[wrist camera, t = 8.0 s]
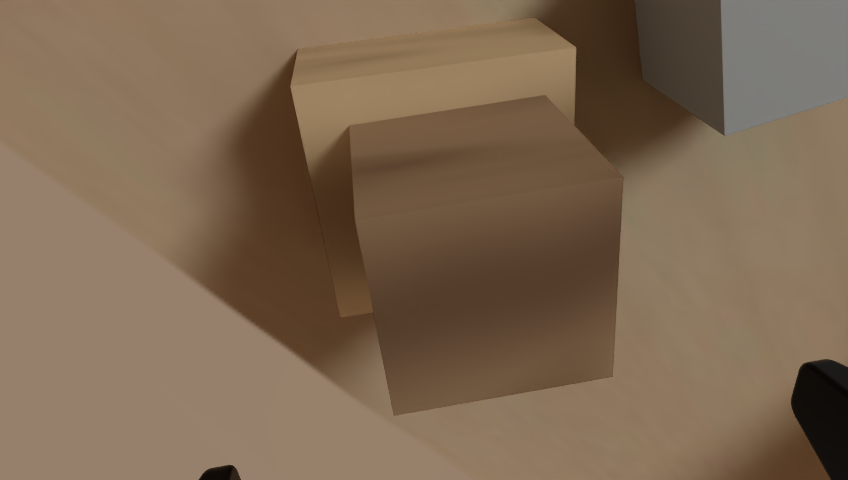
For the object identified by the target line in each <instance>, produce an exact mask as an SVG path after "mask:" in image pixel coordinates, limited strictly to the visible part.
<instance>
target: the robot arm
mask: <svg viewBox="0 0 848 480" xmlns="http://www.w3.org/2000/svg"><path fill="white" fill-rule="evenodd" d="M791 406H792V410H793V413H794V415H795V417H796V419H797V420H798V422H799V424H800V426H801V428H802V429H803V431H804V433H805V435H806V436H807V438H808V440H809V442H810V443H811V445H812V447H813V449H814V451H815V452H816V454H817V456H818V458H819V459H820V461H821V463H822V465H823V466H824V468H825V470H826V472H827V474H828V475H829V477H830V479H831V480H848V367H846V366H844V365H842V364H840V363H838V362H835V361H833V360H829V359H824V360H818V361H812V362H807V363H804V364H803V365H802V366H801V367H800V369H799V372H798V376H797V379H796V383H795V387H794V390H793V394H792V398H791ZM199 480H241V479H240V476H239V474H238V471H237V469H236V468H235V467H234V466H233V465H227V466H221V467H215V468H211V469H208V470H206V471H205V472H204V473H203V474H202V476H201V477H200V479H199Z"/></svg>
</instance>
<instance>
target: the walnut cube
mask: <svg viewBox="0 0 848 480" xmlns="http://www.w3.org/2000/svg"><path fill="white" fill-rule="evenodd" d="M349 131H350V147H351V164H352V180H353V196H354V213H355V223H356V228H357V233H358V238H359V243H360V248H361V253H362V258H363V263H364V268H365V273H366V278H367V283H368V288H369V293H370V299H371V304H372V309H373V314H374V319H375V324H376V329H377V334H378V339H379V344H380V349H381V354H382V359H383V364H384V369H385V374H386V379H387V384H388V389H389V394H390V399H391V404H392V409H393V414H394V416H395V415H401V414H406V413H412V412H417V411H423V410H429V409H434V408H440V407H446V406H451V405H457V404H462V403H468V402H474V401H479V400H485V399H491V398H496V397H502V396H507V395H513V394H519V393H524V392H530V391H536V390H541V389H547V388H552V387H558V386H564V385H569V384H575V383H581V382H586V381H592V380H597V379H603V378H609V377H613V363H614V344H615V325H616V306H617V288H618V269H619V250H620V231H621V212H622V194H623V176H622V175H621V174H620V173H619V172H618V171H617V170H616V169H615V168H614V167H613V166H612V164H611V163H610V162H609V161H608V160H607V159H606V158H605V157H604V156H603V155H602V154H601V153H600V152H599V151H598V150H597V149H596V148H595V147H594V146H593V145H592V144H591V142H590V141H589V140H588V139H587V138H586V137H585V136H584V135H583V134H582V133H581V132H580V131H579V130H578V129H577V128H576V127H575V126H574V125H573V124H572V123H571V122H570V120H569V119H568V118H567V117H566V116H565V115H564V114H563V113H562V112H561V111H560V110H559V109H558V108H557V107H556V106H555V105H554V104H553V103H552V102H551V101H550V99H549V98H548V97H547V96H546V95H542V96H535V97H529V98H522V99H516V100H510V101H503V102H497V103H490V104H484V105H477V106H471V107H464V108H458V109H452V110H445V111H439V112H432V113H426V114H419V115H413V116H407V117H400V118H394V119H387V120H381V121H374V122H368V123H361V124H355V125H349Z"/></svg>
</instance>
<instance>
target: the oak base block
mask: <svg viewBox="0 0 848 480" xmlns="http://www.w3.org/2000/svg"><path fill="white" fill-rule="evenodd" d="M575 79H576V47H575V46H574V45H572V44H571V43H569V42H568V41H567V40H565V39H564V38H562V37H561V36H560V35H558V34H557V33H555V32H554V31H553V30H551V29H550V28H548V27H547V26H546V25H544V24H543V23H542V22H540V21H539V20H537V19H536V18H535V17H533V18H526V19H518V20H511V21H503V22H496V23H488V24H481V25H473V26H466V27H458V28H451V29H444V30H436V31H429V32H421V33H414V34H406V35H399V36H391V37H384V38H376V39H369V40H361V41H354V42H347V43H339V44H332V45H324V46H317V47H309V48H302V49H298V51H297V56H296V61H295V66H294V71H293V76H292V81H291V86H290V87H291V92H292V96H293V101H294V105H295V110H296V115H297V119H298V124H299V129H300V133H301V138H302V143H303V147H304V152H305V157H306V161H307V166H308V171H309V175H310V180H311V185H312V189H313V194H314V198H315V203H316V208H317V212H318V217H319V222H320V226H321V231H322V236H323V240H324V245H325V250H326V254H327V259H328V264H329V268H330V273H331V277H332V282H333V287H334V291H335V296H336V301H337V305H338V310H339V315H340V318H342V317H349V316H355V315H361V314H368V313H373V309H372V304H371V299H370V293H369V288H368V283H367V278H366V273H365V268H364V263H363V258H362V253H361V248H360V243H359V238H358V233H357V228H356V223H355V213H354V196H353V180H352V164H351V147H350V131H349V125H355V124H361V123H368V122H374V121H381V120H387V119H394V118H400V117H407V116H413V115H419V114H426V113H432V112H439V111H445V110H452V109H458V108H464V107H471V106H477V105H484V104H490V103H497V102H503V101H510V100H516V99H522V98H529V97H535V96H542V95H546V96H547V97H548V98H549V99H550V101H551V102H552V103H553V104H554V105H555V106H556V107H557V108H558V109H559V110H560V111H561V112H562V113H563V114H564V115H565V116H566V117H567V118H568V119H569V120H570V122H571V123H572V124H573V125H574V121H575Z"/></svg>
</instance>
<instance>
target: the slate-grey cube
mask: <svg viewBox="0 0 848 480" xmlns="http://www.w3.org/2000/svg"><path fill="white" fill-rule="evenodd" d="M634 1H635V11H636V20H637V30H638V40H639V50H640V60H641V70H642V80H643V81H645V82H646V83H648V84H649V85H651V86H652V87H654V88H655V89H657V90H658V91H659V92H661V93H662V94H664V95H665V96H667V97H668V98H670V99H671V100H673V101H674V102H676V103H677V104H679V105H680V106H681V107H683V108H684V109H686V110H687V111H689V112H690V113H692V114H693V115H695V116H696V117H698V118H699V119H701V120H702V121H703V122H705V123H706V124H708V125H709V126H711V127H712V128H714V129H715V130H717V131H718V132H720V133H721V134H723V135H724V136H726V135H730V134H733V133H736V132H739V131H742V130H746V129H749V128H752V127H755V126H758V125H761V124H765V123H768V122H771V121H774V120H777V119H780V118H784V117H787V116H790V115H793V114H796V113H800V112H803V111H806V110H809V109H812V108H815V107H819V106H822V105H825V104H828V103H831V102H834V101H838V100H841V99H844V98H847V97H848V0H634Z"/></svg>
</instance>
